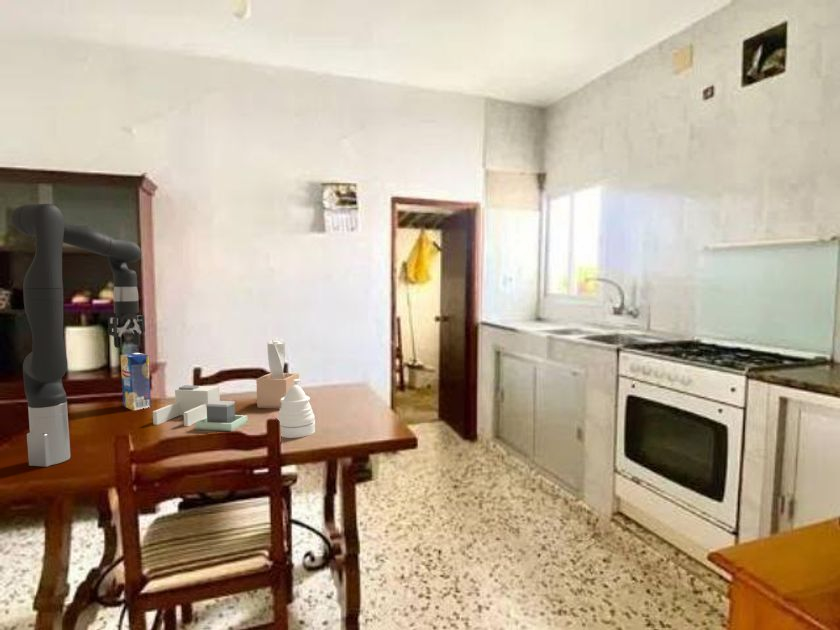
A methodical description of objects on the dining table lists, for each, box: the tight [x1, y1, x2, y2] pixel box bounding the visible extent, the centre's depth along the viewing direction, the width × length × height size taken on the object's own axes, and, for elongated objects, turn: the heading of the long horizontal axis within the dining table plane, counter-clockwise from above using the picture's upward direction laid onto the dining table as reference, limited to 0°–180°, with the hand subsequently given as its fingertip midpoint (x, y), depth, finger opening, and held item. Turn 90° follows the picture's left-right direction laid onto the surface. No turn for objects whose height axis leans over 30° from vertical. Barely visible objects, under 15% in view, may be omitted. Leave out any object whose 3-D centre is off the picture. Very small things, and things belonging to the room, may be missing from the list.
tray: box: [194, 414, 248, 432], centre depth 184 cm, size 11×14×2 cm
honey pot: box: [276, 378, 316, 439], centre depth 176 cm, size 13×13×18 cm
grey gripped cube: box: [206, 400, 236, 423], centre depth 184 cm, size 5×8×8 cm, turn 79°
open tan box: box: [255, 372, 300, 409], centre depth 214 cm, size 13×13×12 cm
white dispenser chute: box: [152, 385, 221, 427], centre depth 195 cm, size 21×14×11 cm, turn 170°
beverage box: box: [120, 352, 152, 411], centre depth 212 cm, size 7×11×22 cm, turn 49°
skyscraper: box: [267, 337, 289, 379], centre depth 214 cm, size 8×8×28 cm
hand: (127, 346), depth 178 cm, fingers open, 8 cm apart
